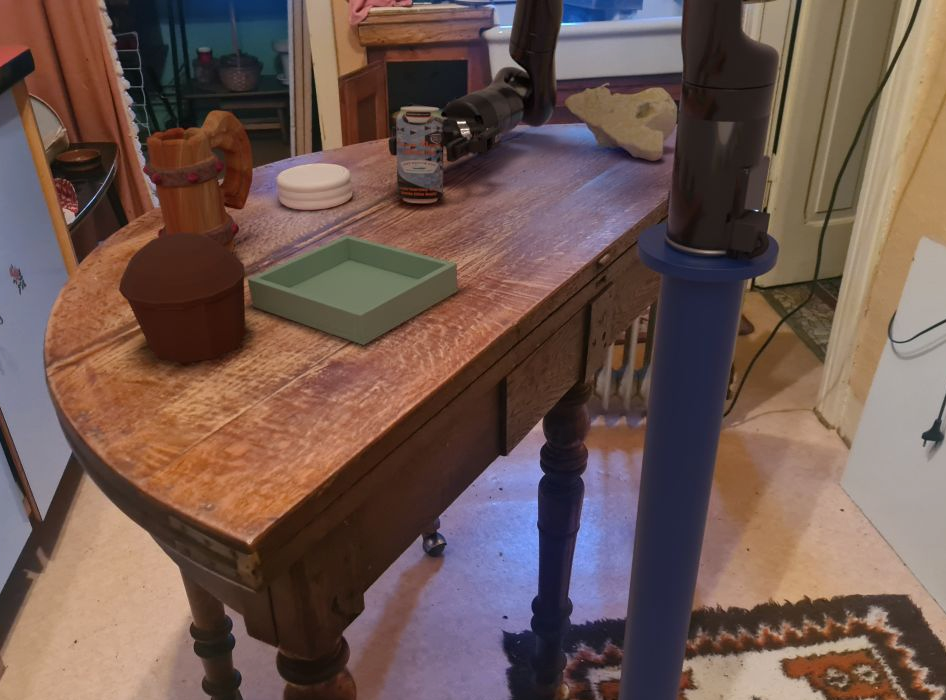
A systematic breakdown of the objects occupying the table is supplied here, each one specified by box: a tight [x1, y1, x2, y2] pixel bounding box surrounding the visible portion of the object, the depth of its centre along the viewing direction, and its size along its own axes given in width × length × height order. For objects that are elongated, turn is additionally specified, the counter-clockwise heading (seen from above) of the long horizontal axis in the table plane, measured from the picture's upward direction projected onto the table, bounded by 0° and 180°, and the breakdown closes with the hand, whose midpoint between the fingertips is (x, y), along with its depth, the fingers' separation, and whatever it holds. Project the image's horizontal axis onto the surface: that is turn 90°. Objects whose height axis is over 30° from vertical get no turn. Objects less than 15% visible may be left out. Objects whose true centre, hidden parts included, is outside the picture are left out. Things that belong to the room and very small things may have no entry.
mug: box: [142, 109, 254, 254], centre depth 97 cm, size 15×8×15 cm, turn 151°
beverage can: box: [395, 105, 444, 204], centre depth 111 cm, size 6×7×12 cm
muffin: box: [118, 233, 246, 364], centre depth 79 cm, size 12×11×10 cm
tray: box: [247, 234, 459, 346], centre depth 88 cm, size 16×15×3 cm
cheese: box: [564, 82, 678, 162], centre depth 129 cm, size 15×7×15 cm
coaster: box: [275, 163, 354, 211], centre depth 115 cm, size 10×10×4 cm
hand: (420, 150), depth 111 cm, fingers open, 8 cm apart
